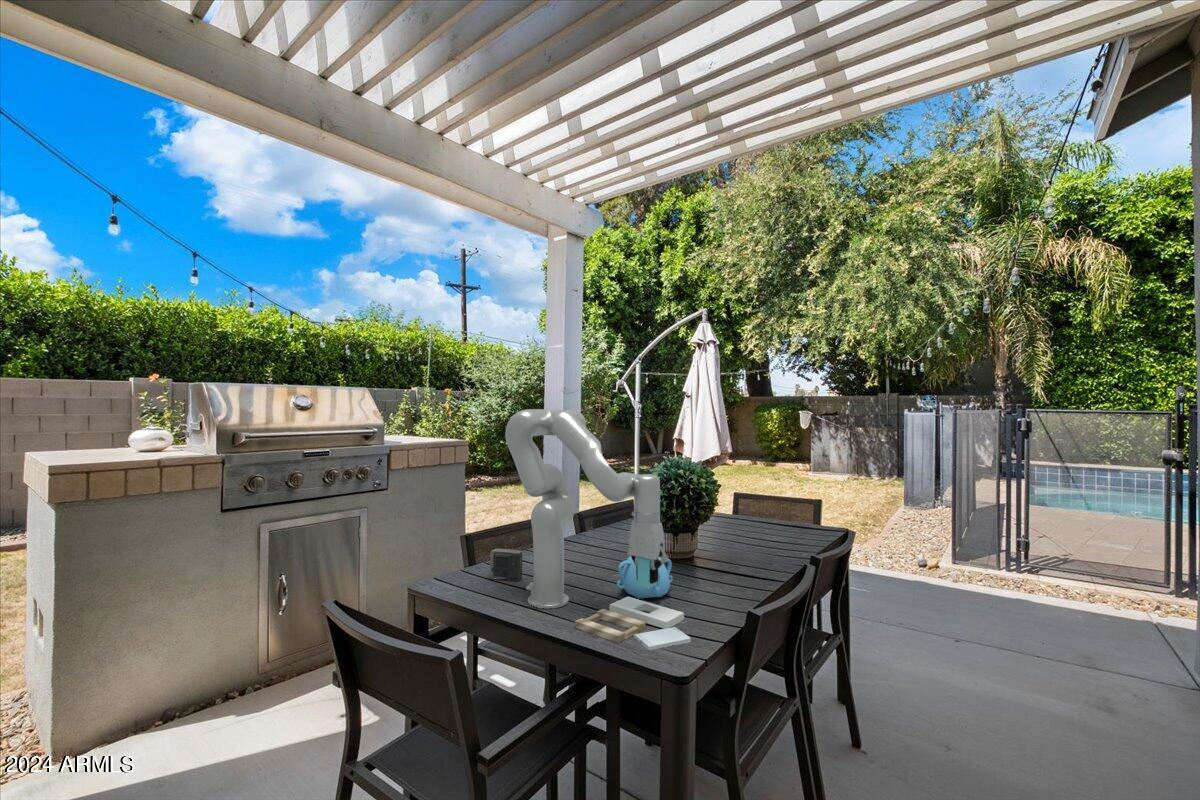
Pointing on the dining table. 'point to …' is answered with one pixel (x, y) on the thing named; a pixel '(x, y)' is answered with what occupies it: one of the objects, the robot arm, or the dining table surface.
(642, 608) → the port panel
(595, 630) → the tan hollow rectangular frame
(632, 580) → the decorative pot
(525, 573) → the dining table surface
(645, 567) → the plug
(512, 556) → the camera
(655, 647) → the hard drive
